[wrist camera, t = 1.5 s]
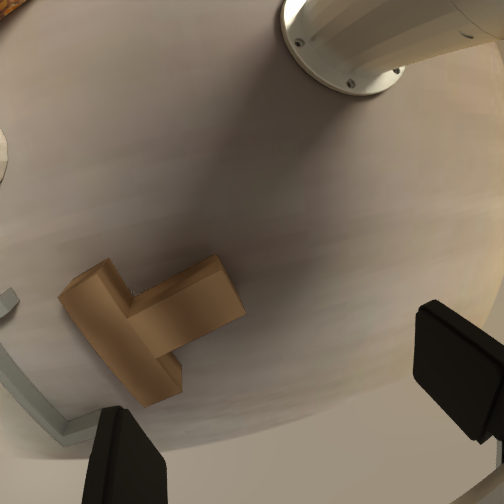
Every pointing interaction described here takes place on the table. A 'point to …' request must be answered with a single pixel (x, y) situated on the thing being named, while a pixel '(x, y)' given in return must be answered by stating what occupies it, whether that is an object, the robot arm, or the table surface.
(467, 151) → the table surface
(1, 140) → the white cup
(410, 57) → the robot arm
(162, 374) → the t block
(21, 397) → the bracket
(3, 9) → the candy box
